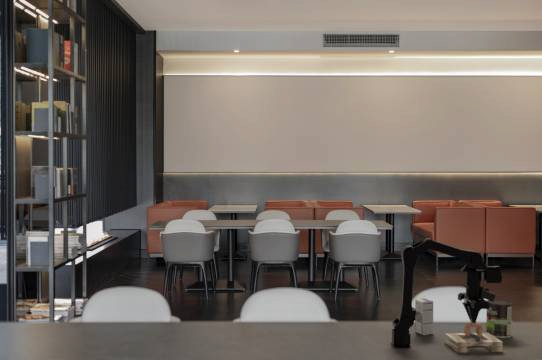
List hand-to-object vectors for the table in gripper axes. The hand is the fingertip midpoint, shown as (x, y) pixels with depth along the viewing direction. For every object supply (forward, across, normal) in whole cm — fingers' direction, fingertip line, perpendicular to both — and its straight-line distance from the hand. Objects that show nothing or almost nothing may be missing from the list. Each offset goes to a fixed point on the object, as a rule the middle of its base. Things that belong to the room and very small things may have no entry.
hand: (473, 322), depth 258 cm
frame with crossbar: (+10, 0, 0) cm, 10 cm away
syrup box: (+10, +22, +13) cm, 27 cm away
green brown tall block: (+10, +18, -18) cm, 27 cm away
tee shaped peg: (+5, 0, 0) cm, 5 cm away
